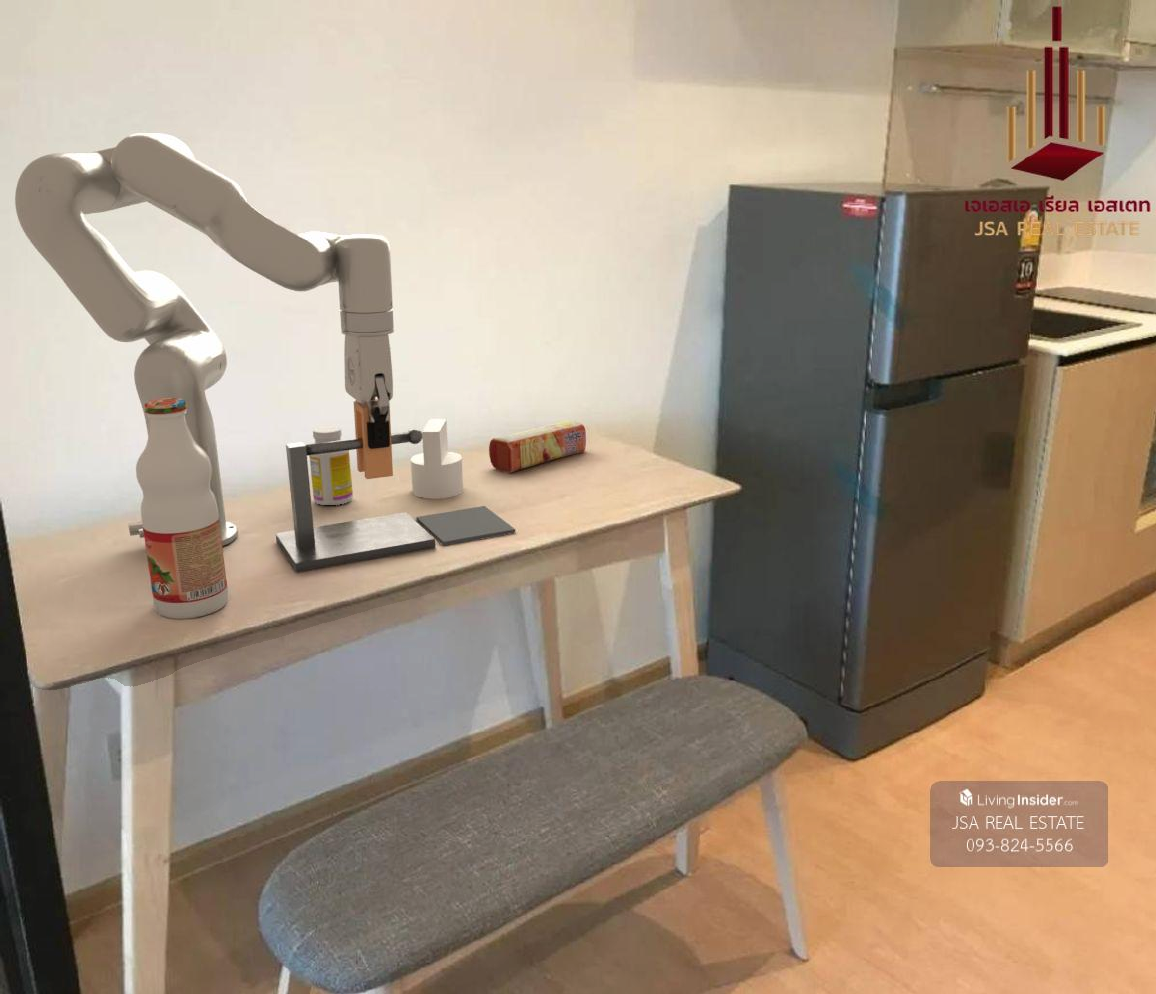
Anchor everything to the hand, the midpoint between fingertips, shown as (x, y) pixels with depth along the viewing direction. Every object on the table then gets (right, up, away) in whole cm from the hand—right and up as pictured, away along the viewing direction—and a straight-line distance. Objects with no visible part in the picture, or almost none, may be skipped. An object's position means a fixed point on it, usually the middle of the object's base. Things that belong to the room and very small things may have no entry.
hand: (373, 441), depth 160 cm
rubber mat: (+13, -13, +11) cm, 21 cm away
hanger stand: (-3, -16, +3) cm, 16 cm away
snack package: (+23, -2, +47) cm, 52 cm away
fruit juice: (-21, -23, -18) cm, 36 cm away
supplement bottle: (-11, -9, +24) cm, 28 cm away
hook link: (0, -5, +2) cm, 5 cm away
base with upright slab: (+6, -7, +29) cm, 30 cm away
